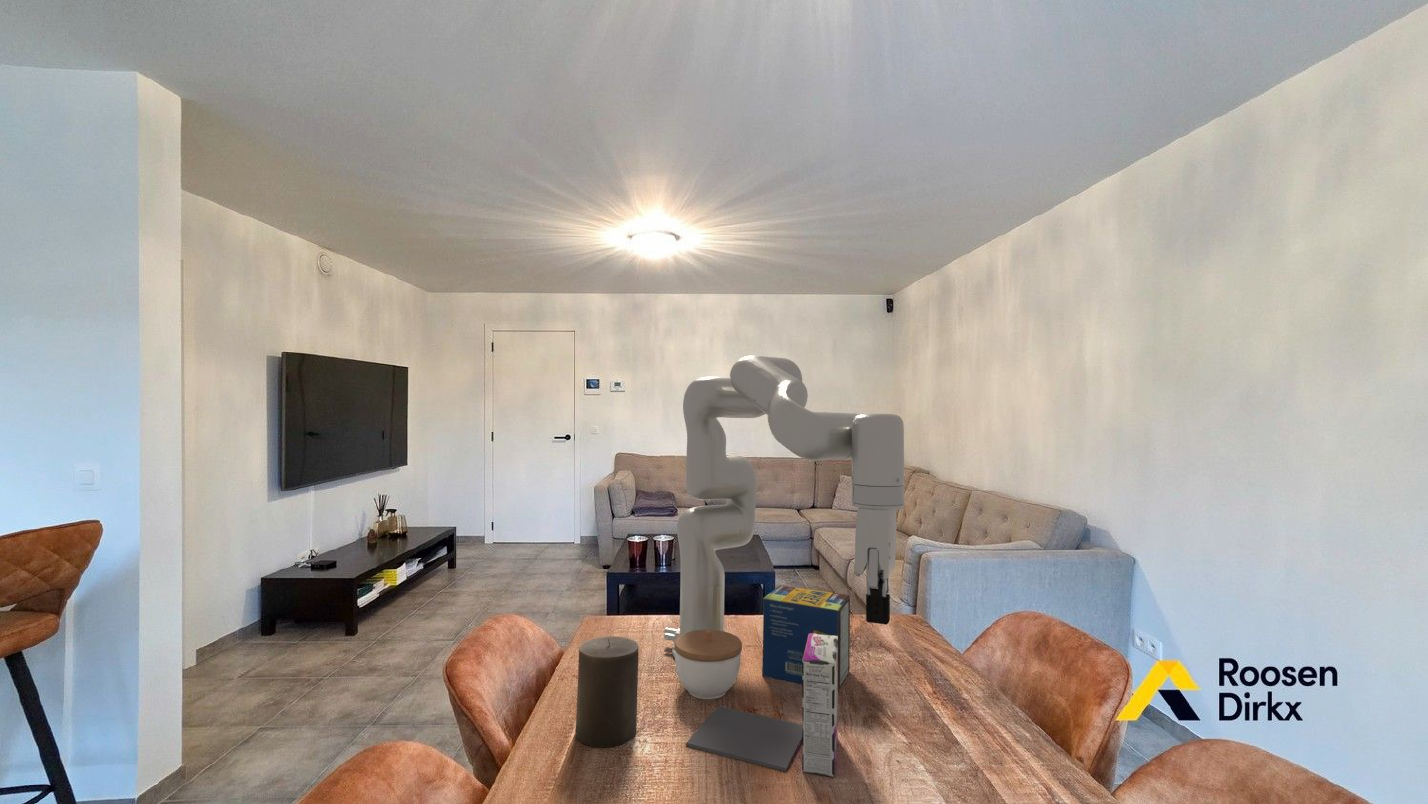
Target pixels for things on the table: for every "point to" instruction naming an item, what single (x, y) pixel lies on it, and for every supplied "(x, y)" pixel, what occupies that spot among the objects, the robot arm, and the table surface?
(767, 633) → the protein box
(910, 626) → the table surface
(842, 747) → the table surface
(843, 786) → the table surface
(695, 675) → the lidded bowl
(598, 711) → the pillar candle
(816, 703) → the candy bar box
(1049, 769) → the table surface
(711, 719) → the mat
